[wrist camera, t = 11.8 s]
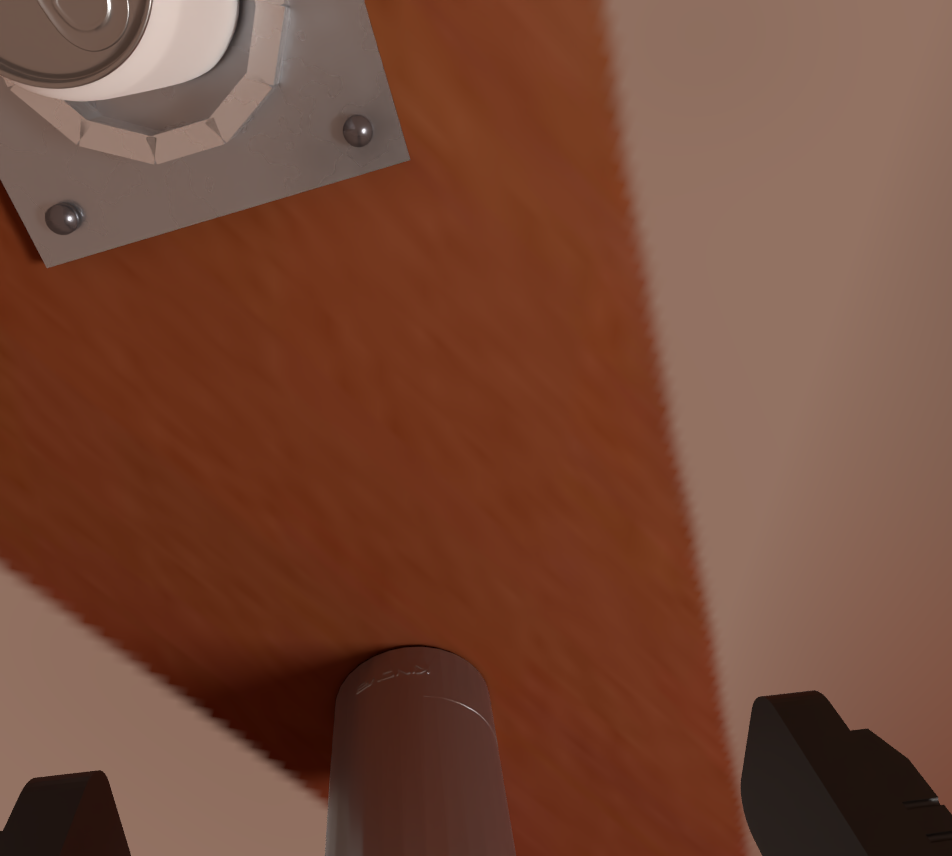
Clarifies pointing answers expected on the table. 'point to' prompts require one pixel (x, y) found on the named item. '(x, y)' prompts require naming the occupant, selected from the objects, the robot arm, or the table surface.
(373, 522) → the table surface
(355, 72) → the duct flange
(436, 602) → the table surface
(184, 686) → the table surface
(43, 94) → the can
